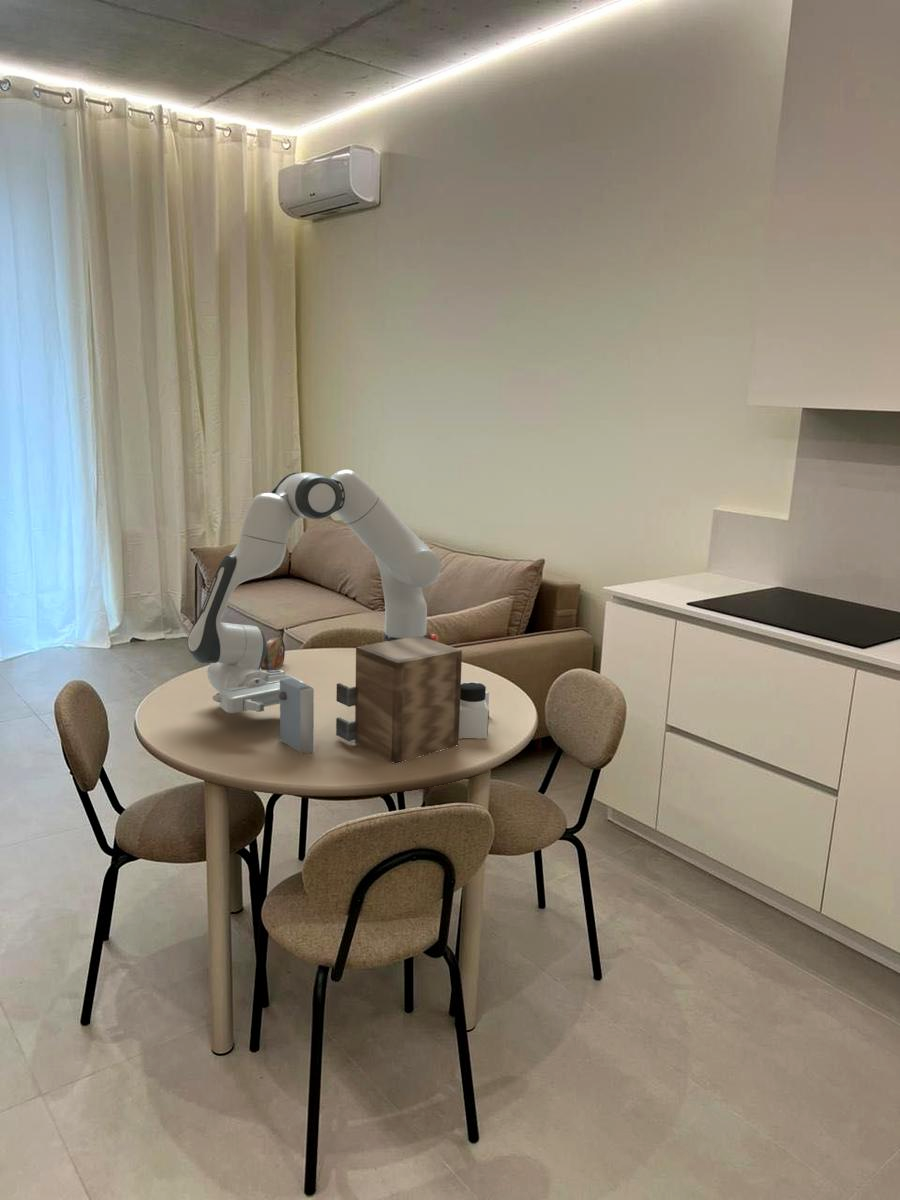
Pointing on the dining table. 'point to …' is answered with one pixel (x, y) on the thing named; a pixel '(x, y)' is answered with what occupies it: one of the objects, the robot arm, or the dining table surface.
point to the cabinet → (404, 698)
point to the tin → (274, 654)
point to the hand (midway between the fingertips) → (280, 704)
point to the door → (297, 715)
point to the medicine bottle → (473, 711)
